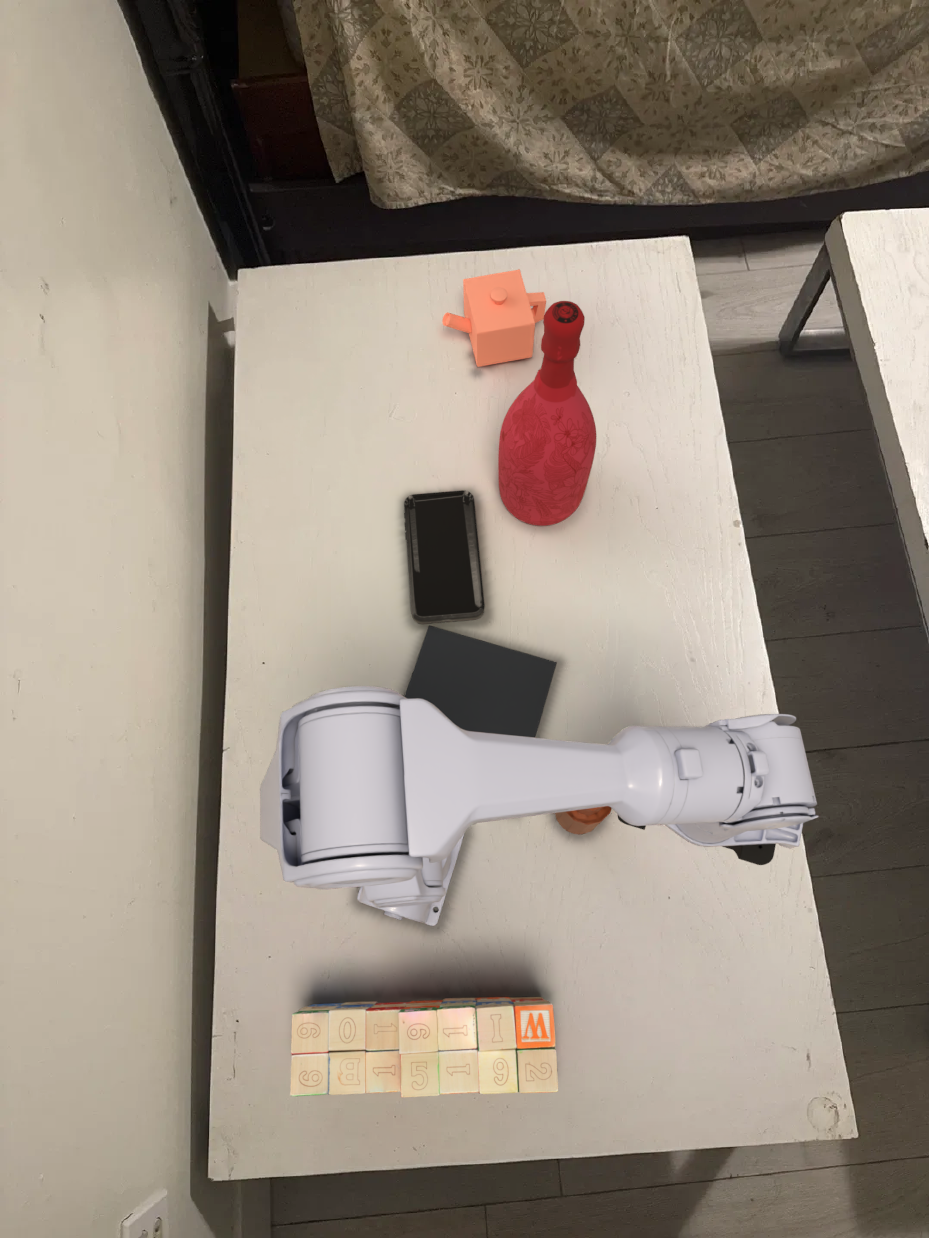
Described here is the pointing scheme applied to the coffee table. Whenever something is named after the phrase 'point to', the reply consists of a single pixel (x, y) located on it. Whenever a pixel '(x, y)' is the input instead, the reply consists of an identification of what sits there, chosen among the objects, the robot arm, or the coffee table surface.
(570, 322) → the wine bottle
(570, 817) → the brown jar
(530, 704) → the mat
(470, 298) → the pink cube teapot
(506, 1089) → the stack of blocks
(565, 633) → the coffee table surface
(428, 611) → the phone
